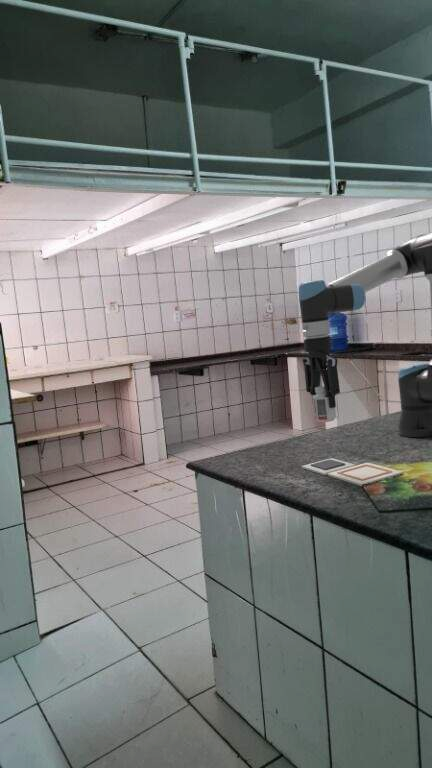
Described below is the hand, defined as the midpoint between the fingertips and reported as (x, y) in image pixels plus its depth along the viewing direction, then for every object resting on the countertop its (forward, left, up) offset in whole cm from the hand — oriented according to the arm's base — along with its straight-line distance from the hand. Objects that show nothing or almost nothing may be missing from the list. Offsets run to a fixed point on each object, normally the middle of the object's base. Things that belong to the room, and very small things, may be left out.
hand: (325, 417), depth 161 cm
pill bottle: (0, 0, -1) cm, 1 cm away
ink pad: (0, -1, -15) cm, 15 cm away
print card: (-2, +13, -15) cm, 19 cm away
